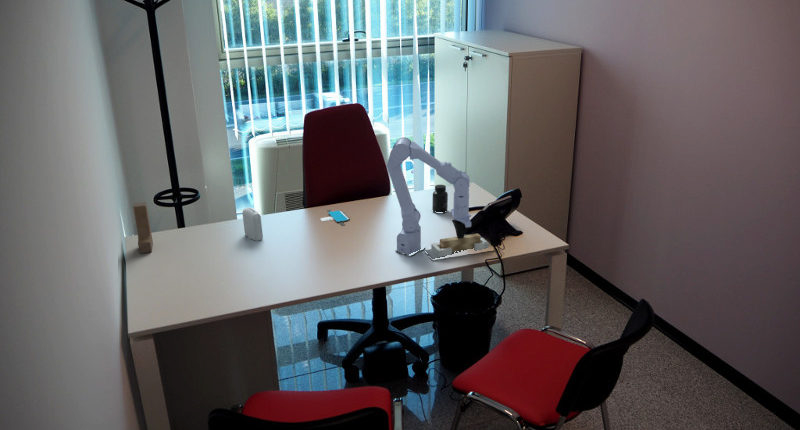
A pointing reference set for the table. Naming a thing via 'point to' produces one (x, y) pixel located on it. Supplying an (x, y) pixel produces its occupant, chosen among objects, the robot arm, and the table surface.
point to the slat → (460, 242)
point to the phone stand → (336, 217)
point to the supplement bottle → (440, 199)
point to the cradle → (437, 252)
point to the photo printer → (252, 224)
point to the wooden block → (143, 228)
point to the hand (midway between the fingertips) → (460, 237)
